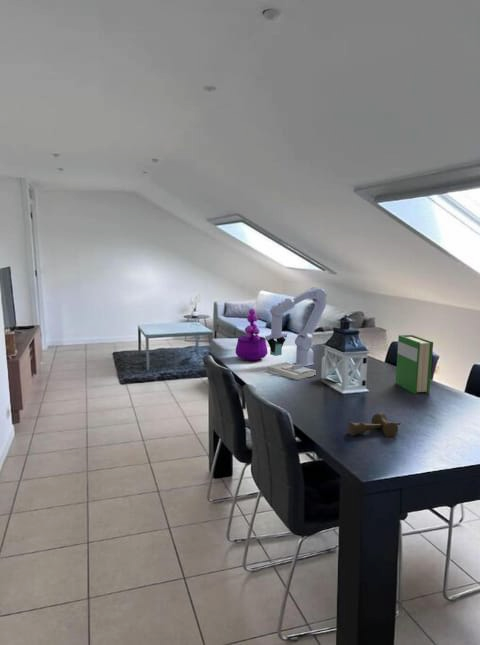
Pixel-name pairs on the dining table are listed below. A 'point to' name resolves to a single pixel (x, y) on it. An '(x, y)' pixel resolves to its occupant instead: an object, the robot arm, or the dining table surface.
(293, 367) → the shutter
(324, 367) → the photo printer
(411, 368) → the hardback book
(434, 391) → the dining table surface
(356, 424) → the kendama
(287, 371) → the socket plate
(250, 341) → the decorative plant
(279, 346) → the plug
